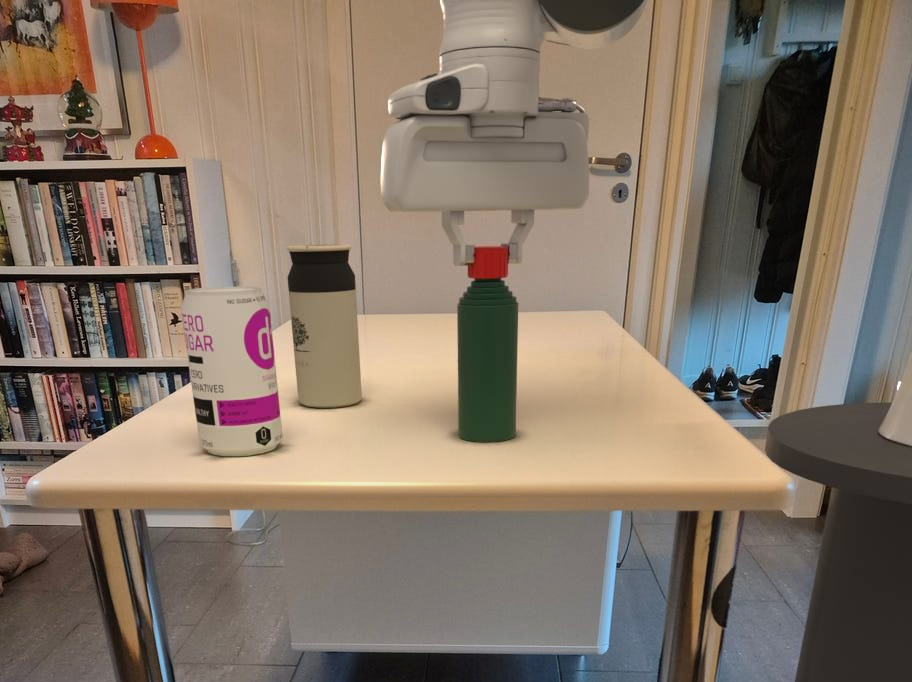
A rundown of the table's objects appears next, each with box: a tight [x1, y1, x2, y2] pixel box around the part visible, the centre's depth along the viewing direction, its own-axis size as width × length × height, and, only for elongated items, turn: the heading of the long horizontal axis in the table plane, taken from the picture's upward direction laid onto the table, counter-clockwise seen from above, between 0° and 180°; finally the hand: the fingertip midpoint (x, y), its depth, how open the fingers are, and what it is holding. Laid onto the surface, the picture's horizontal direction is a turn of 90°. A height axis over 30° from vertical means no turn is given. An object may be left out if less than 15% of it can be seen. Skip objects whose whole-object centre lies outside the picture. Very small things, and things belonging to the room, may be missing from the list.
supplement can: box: [180, 285, 283, 457], centre depth 83 cm, size 8×8×15 cm
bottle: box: [456, 278, 519, 443], centre depth 86 cm, size 6×6×18 cm
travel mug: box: [286, 243, 363, 409], centre depth 104 cm, size 8×8×18 cm
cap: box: [467, 245, 509, 279], centre depth 82 cm, size 4×4×3 cm
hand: (487, 264), depth 82 cm, fingers closed on cap, 4 cm apart
